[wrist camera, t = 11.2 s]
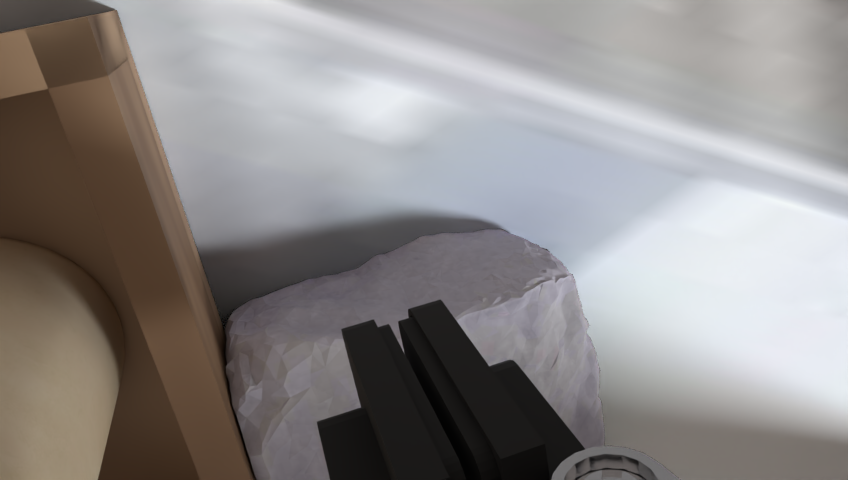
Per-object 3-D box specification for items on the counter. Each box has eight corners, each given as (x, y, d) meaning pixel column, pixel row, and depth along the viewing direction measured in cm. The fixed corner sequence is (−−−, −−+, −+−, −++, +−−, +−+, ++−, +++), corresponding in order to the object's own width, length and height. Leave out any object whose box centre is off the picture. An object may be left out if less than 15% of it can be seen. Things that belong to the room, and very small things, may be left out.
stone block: (504, 182, 21) (180, 305, 18) (611, 226, 17) (221, 397, 14) (546, 473, 26) (299, 614, 23) (637, 559, 22) (355, 748, 19)
